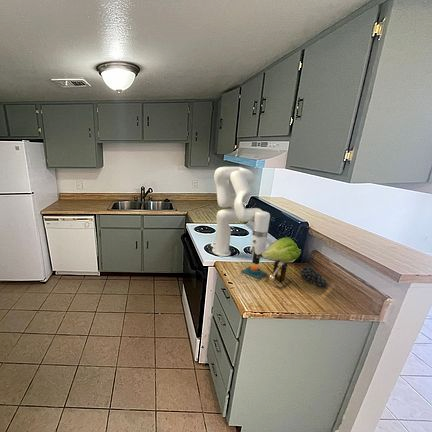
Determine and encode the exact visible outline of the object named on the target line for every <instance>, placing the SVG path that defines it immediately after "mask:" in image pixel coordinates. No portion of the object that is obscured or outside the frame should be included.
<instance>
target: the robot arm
mask: <svg viewBox="0 0 432 432" xmlns="http://www.w3.org/2000/svg"><path fill="white" fill-rule="evenodd" d="M254 179H255V175H254V173H253V172H252V170H250V169H248V168H244V167H242V166H221V167H218V168H216V169H215V171H214V174H213V181H214V185H215V188H216V200H217V205H218V207H220V208H225V209H220V210H218V211H217V212H216V231H215V232H216V233H215V241H214V243H213V242H212V243H211V244H210V247H211V248H212V249H211V252H212V254H214V255H216V256H219V257H229V256H231V254H232V252H231V250H230V243H231V236H232V235H231V234H232V228H231V226H230V224H234V223H240V222H242V223H247V222H253V226H252V234H251V235H252V238H251V242H250V248H249V252H250V253H251V254H250V255H251V256H252V261H251V262H252V264H254V265H259V264H260V259H261V257H262V253H263V252H265V251H266V249H267V246H268V245H267V244H268V233H269V227H270V220H271V214H270V213H269V212H268V211H264V210H262V209H261V208H258V207H252V208H251V207H250V208H249V207H248V208H245V207H244V203H243V199H244V198H246V197H248V196H249V195H250V194H251V193H252V189H251V187H250V184H252V183H253V182H254ZM228 180H230V182H231V185H232V187H233V190H234V192H231V191H230V189H231V188H230V185H229V183H228V182H227V181H228Z"/></svg>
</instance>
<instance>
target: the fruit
mask: <svg viewBox="0 0 432 432" xmlns="http://www.w3.org/2000/svg"><path fill="white" fill-rule="evenodd" d="M299 273H300V275H301V278H303V279H304V281H307V282H309V283H310V284H312V285H314V286H316V285H317V286H318V287H321V288H324V289H327V288H328V286H329V285H328V282H327V280H326V279H324V278H323V276H322V275H321V273H320V272H319V271H317V270H315V267H314V266H311V265H307V266H303V267H302V269H299Z"/></svg>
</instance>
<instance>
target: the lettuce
mask: <svg viewBox="0 0 432 432" xmlns="http://www.w3.org/2000/svg"><path fill="white" fill-rule="evenodd" d="M291 238H292V237H288V236H285V237H282V238H279V239H276V240H275V241H273V242H272V243H271V244H269V245H267V246H266V251H265V252H263V253H261V257H262V258H264V259H266V260H267V259H268V260H271V261H274V262H276V261H277V260H280V262H282V263H290V262H294V261H296V260H297V259H299V257H300V256H301V255H302V250H301V249H299V248H298V246H297V244H296V243H295V242H294V241H293V240H292V239H293V238H292V239H291Z"/></svg>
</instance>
